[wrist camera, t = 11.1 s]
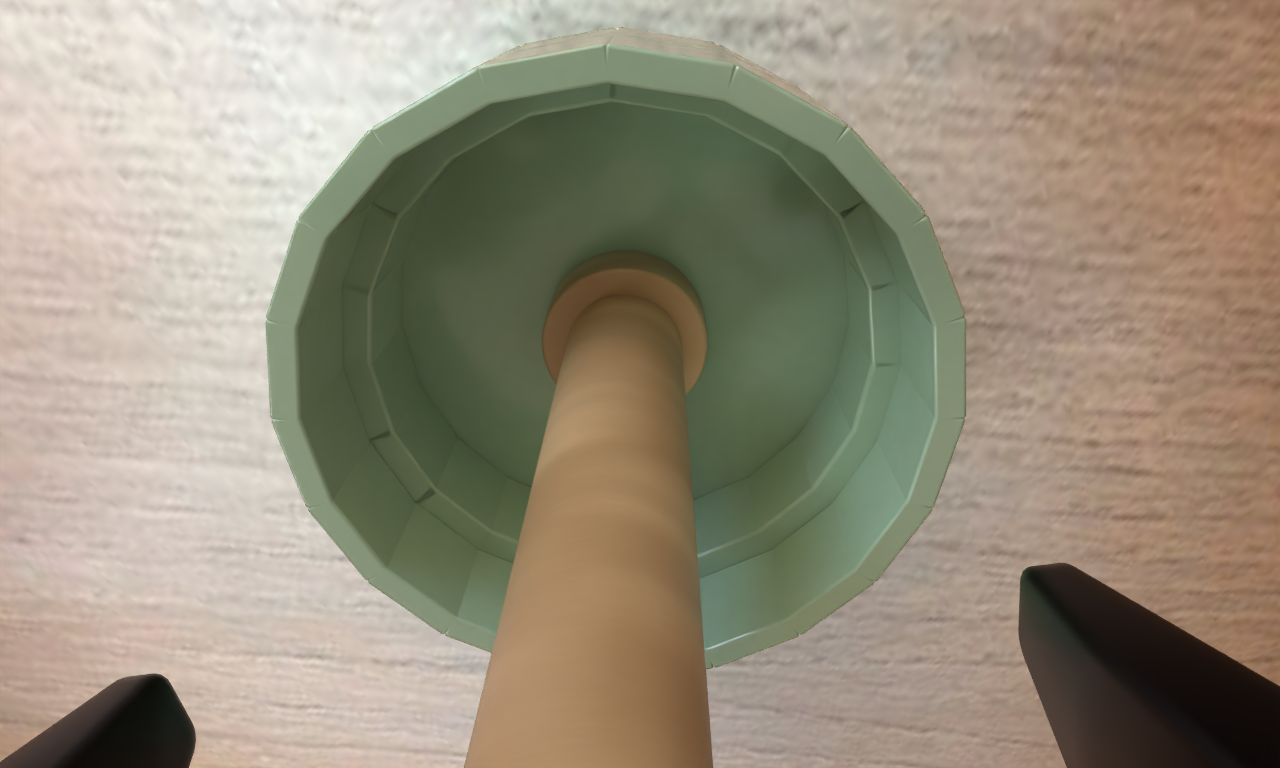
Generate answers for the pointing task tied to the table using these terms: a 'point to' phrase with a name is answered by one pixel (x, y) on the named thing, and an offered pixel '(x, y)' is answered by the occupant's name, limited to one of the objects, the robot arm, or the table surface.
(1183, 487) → the table surface
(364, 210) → the bowl
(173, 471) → the table surface
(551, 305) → the handle grip
